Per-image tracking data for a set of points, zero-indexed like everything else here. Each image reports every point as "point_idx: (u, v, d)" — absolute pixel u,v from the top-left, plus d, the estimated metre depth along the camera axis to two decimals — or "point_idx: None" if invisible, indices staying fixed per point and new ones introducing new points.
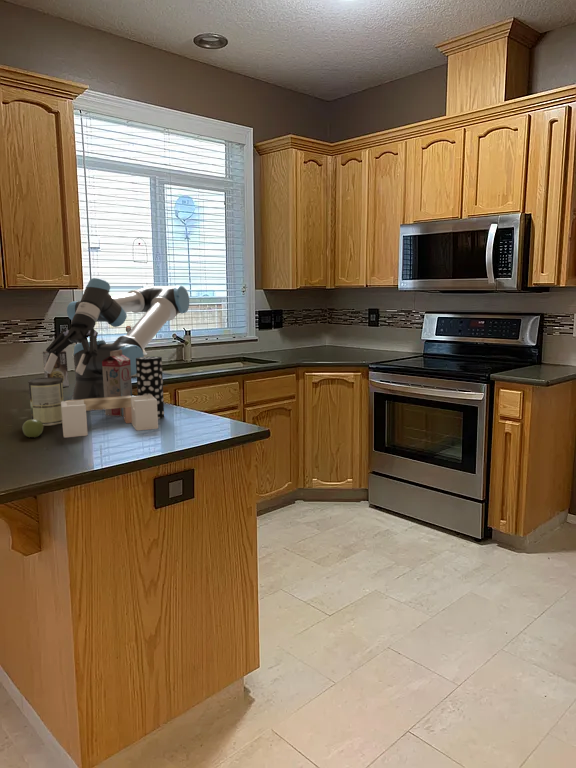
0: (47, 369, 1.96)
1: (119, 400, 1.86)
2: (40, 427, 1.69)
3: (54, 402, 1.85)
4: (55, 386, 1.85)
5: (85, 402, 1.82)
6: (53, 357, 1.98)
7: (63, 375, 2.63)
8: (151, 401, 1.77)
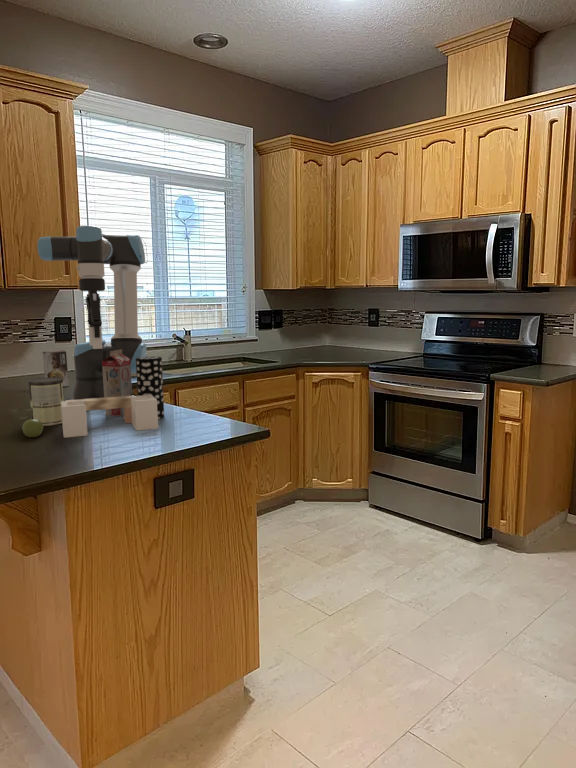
0: (92, 343, 1.88)
1: (119, 400, 1.86)
2: (40, 427, 1.69)
3: (54, 402, 1.85)
4: (55, 386, 1.85)
5: (85, 402, 1.82)
6: (92, 328, 1.88)
7: (63, 375, 2.63)
8: (151, 401, 1.77)
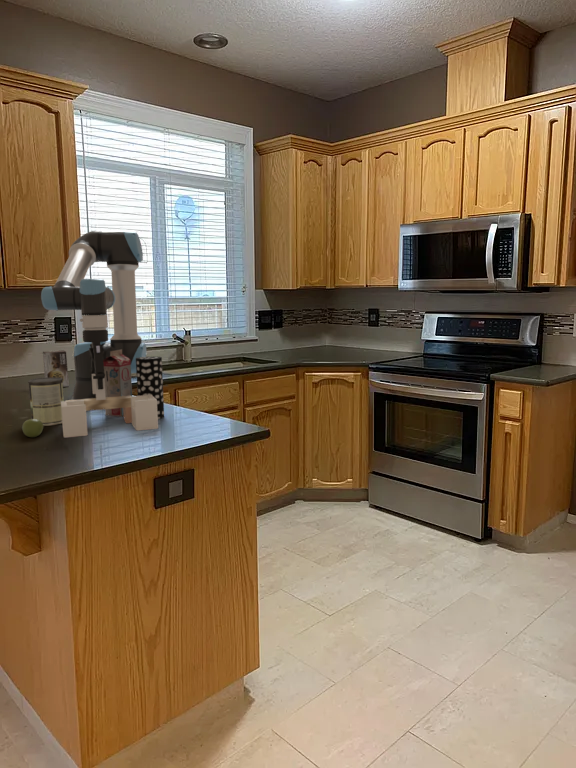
0: (95, 392, 1.90)
1: (119, 400, 1.86)
2: (40, 427, 1.69)
3: (54, 402, 1.85)
4: (55, 386, 1.85)
5: (85, 402, 1.82)
6: None
7: (63, 375, 2.63)
8: (151, 401, 1.77)
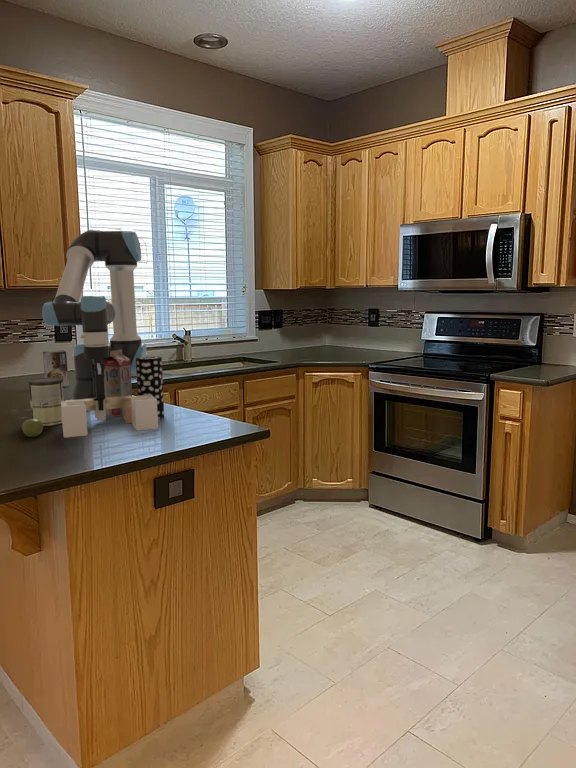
0: None
1: (119, 400, 1.86)
2: (40, 426, 1.70)
3: (54, 402, 1.85)
4: (55, 386, 1.85)
5: (85, 402, 1.82)
6: None
7: (63, 375, 2.63)
8: (151, 401, 1.77)
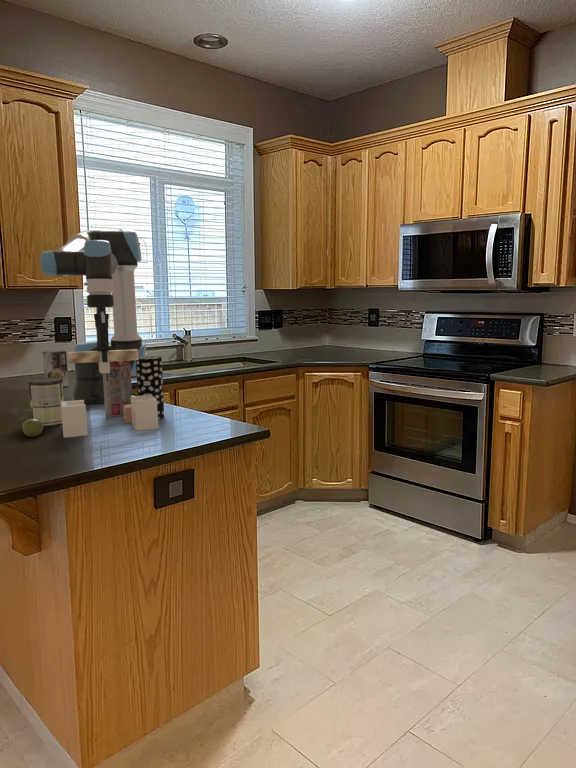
0: None
1: (124, 352, 1.76)
2: (40, 426, 1.70)
3: (54, 402, 1.85)
4: (55, 386, 1.85)
5: (88, 353, 1.72)
6: None
7: (63, 375, 2.63)
8: (151, 401, 1.77)
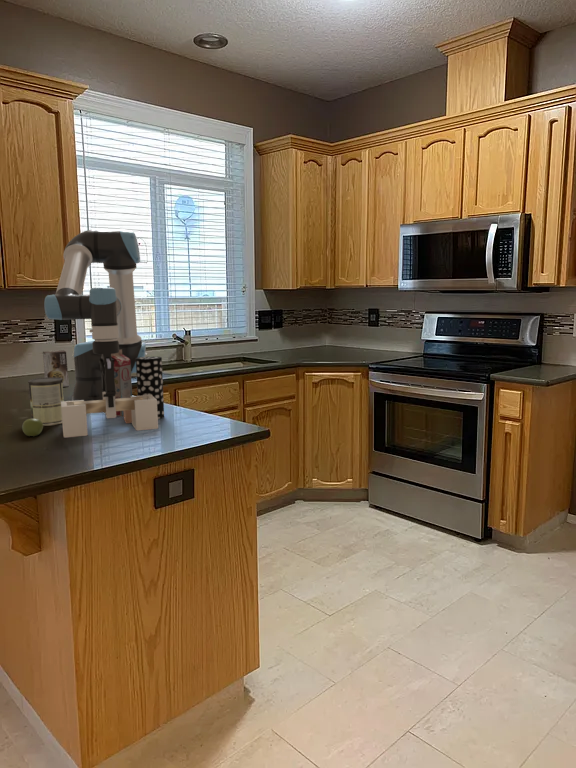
0: None
1: (129, 402, 1.77)
2: (40, 426, 1.70)
3: (54, 402, 1.85)
4: (55, 386, 1.85)
5: (94, 404, 1.73)
6: None
7: (63, 375, 2.63)
8: (151, 401, 1.77)
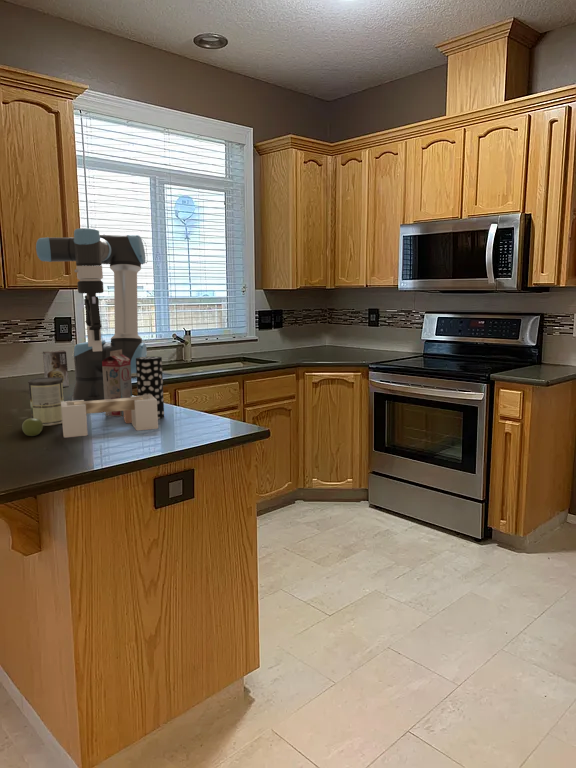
0: (90, 344, 1.90)
1: (129, 402, 1.77)
2: (39, 426, 1.71)
3: (54, 402, 1.85)
4: (55, 386, 1.85)
5: (94, 404, 1.73)
6: (90, 329, 1.89)
7: (63, 375, 2.63)
8: (151, 401, 1.77)
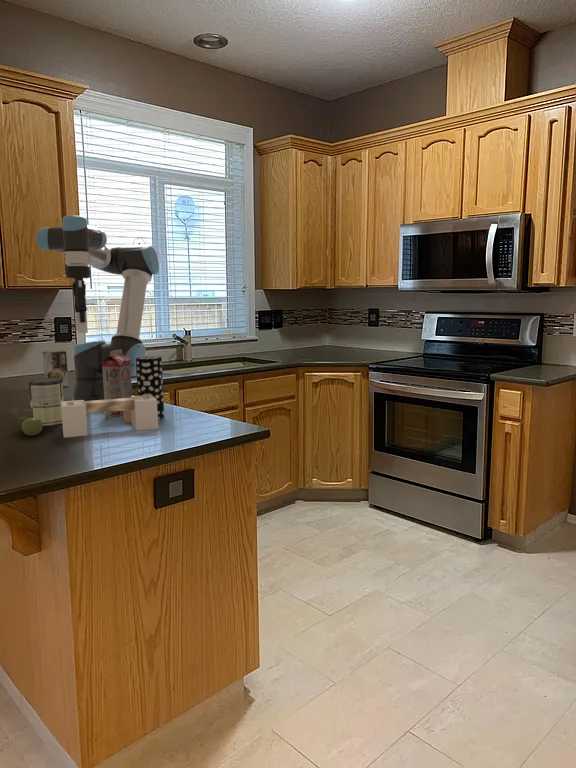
0: None
1: (129, 402, 1.77)
2: (39, 425, 1.71)
3: (54, 402, 1.85)
4: (55, 386, 1.85)
5: (94, 404, 1.73)
6: None
7: (63, 375, 2.63)
8: (151, 401, 1.77)
